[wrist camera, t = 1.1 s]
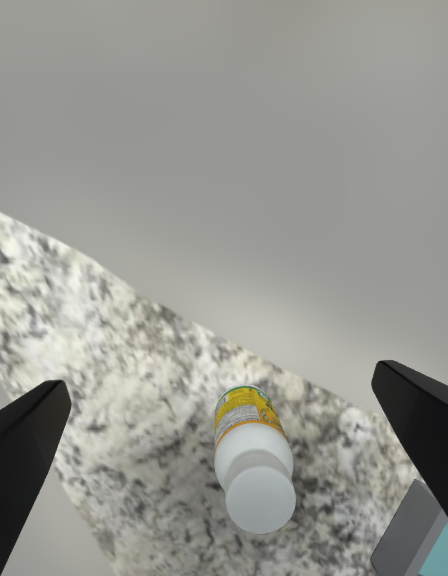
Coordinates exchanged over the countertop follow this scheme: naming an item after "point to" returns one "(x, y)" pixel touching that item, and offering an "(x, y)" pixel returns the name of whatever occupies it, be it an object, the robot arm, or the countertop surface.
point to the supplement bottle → (253, 460)
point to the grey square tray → (415, 537)
